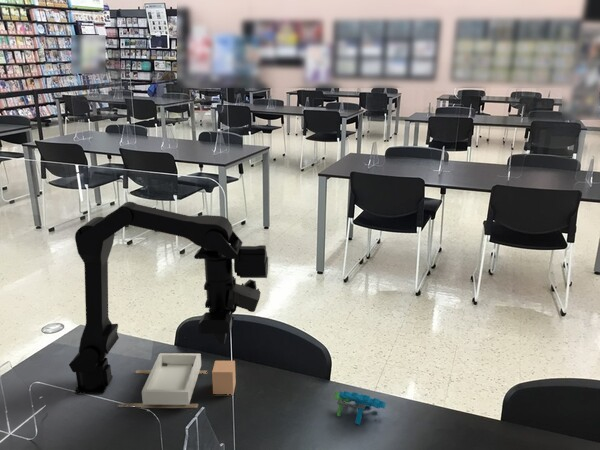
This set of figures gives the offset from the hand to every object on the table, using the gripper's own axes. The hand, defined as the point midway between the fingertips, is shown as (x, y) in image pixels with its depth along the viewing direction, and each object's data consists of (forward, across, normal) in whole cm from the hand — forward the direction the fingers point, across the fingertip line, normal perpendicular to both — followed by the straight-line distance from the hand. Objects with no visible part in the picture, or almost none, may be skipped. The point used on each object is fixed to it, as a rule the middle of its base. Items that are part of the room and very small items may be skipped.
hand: (222, 341), depth 112 cm
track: (+12, 0, +14) cm, 18 cm away
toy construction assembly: (+13, -8, -30) cm, 33 cm away
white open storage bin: (+12, 0, +12) cm, 17 cm away
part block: (+12, 0, 0) cm, 12 cm away
